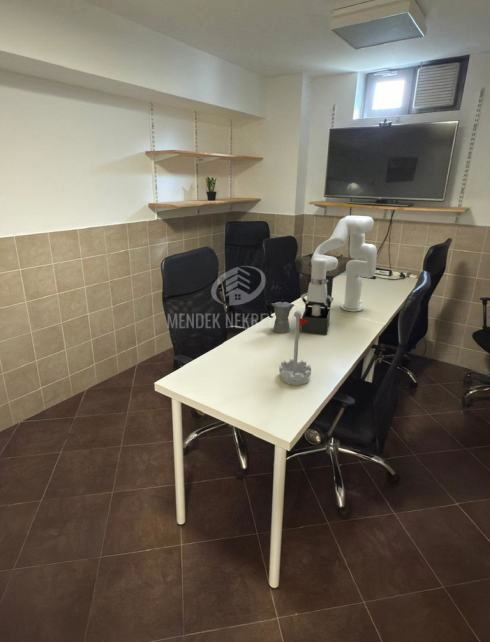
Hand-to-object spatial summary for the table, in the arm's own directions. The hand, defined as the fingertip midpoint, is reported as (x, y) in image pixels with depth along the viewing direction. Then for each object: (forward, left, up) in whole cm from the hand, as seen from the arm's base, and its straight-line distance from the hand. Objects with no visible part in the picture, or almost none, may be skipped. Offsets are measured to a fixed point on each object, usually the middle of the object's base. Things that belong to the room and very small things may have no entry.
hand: (315, 311), depth 194 cm
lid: (-12, -7, +8) cm, 16 cm away
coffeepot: (+15, -13, -11) cm, 22 cm away
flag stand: (+48, +25, -11) cm, 55 cm away
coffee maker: (-3, -2, -11) cm, 11 cm away
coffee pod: (0, 0, -2) cm, 2 cm away
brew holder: (0, 0, -11) cm, 11 cm away
